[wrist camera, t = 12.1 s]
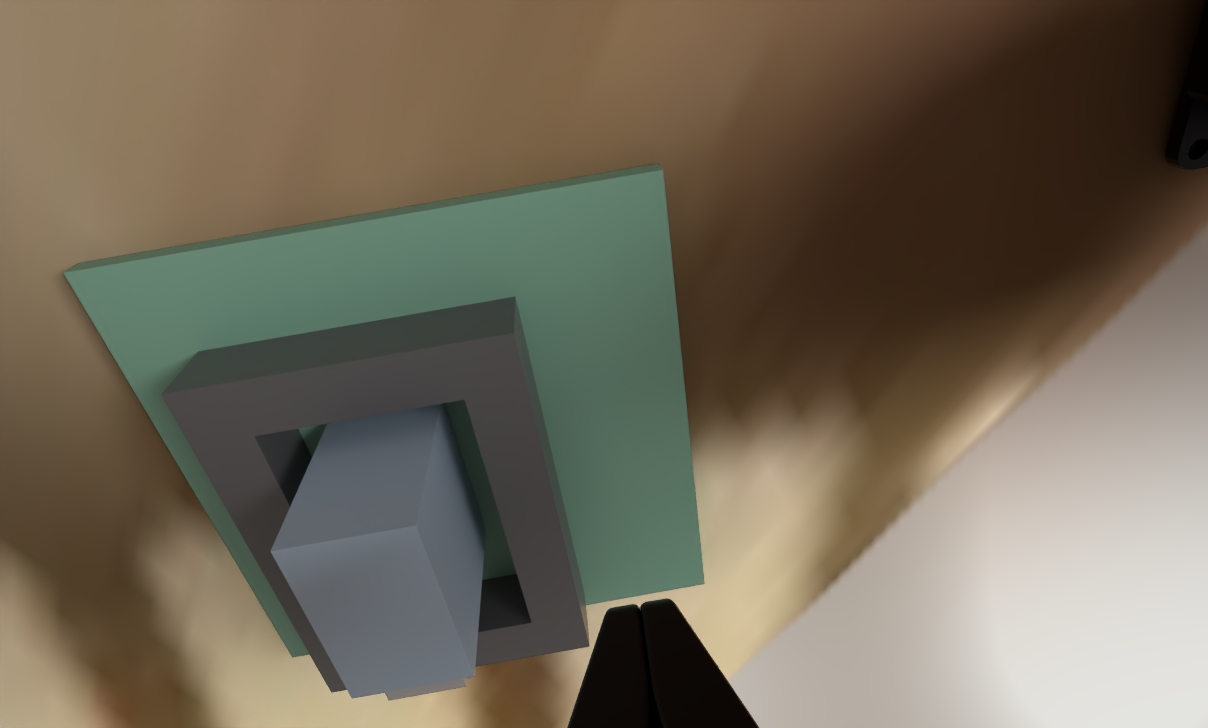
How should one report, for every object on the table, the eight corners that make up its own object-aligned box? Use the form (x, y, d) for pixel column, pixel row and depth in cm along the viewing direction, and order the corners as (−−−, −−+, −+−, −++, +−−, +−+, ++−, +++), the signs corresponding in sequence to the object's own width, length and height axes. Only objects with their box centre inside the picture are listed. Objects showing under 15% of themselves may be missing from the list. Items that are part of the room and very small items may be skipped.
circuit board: (658, 163, 16) (663, 169, 16) (700, 570, 23) (704, 583, 23) (78, 263, 16) (63, 272, 16) (297, 642, 23) (292, 657, 23)
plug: (442, 394, 18) (415, 525, 14) (493, 553, 21) (484, 701, 17) (331, 413, 18) (270, 551, 14) (398, 569, 21) (365, 722, 17)
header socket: (515, 296, 17) (514, 332, 15) (585, 594, 23) (589, 646, 21) (198, 351, 17) (160, 394, 15) (346, 636, 22) (331, 692, 21)
